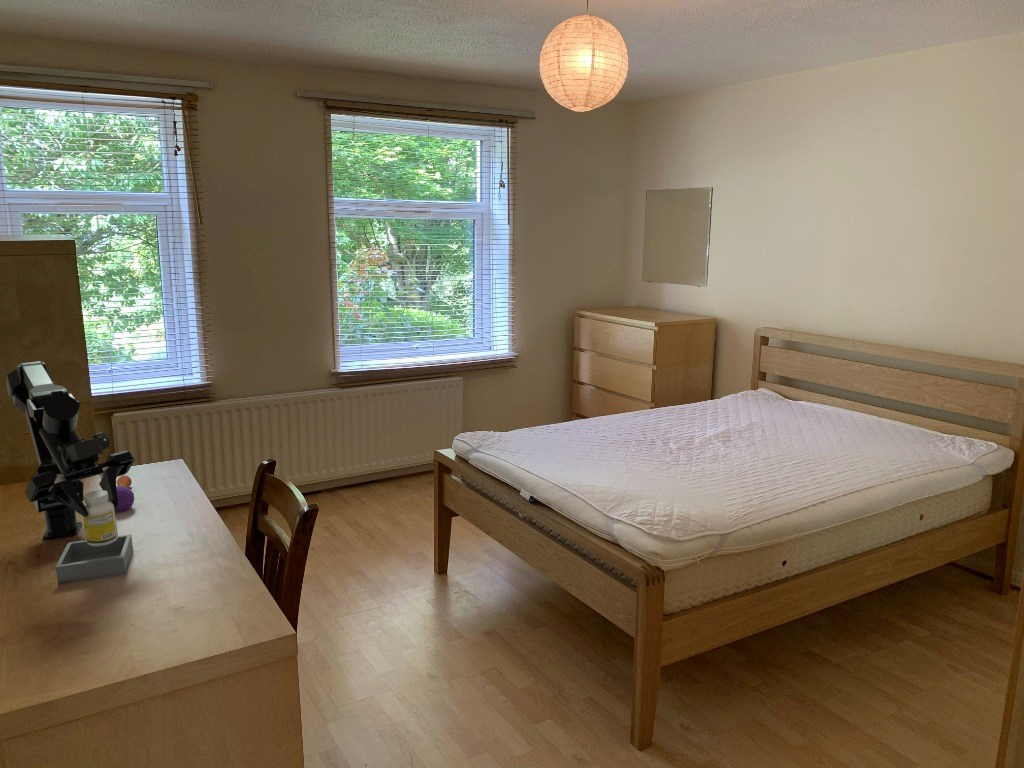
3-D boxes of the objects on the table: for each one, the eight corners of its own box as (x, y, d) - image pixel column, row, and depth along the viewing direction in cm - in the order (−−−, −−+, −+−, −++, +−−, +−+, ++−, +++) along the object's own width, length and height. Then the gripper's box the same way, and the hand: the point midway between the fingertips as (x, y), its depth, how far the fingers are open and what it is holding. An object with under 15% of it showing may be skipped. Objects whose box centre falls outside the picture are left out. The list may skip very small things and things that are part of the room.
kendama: (138, 470, 192) (134, 490, 174) (136, 493, 193) (132, 515, 175) (112, 469, 190) (105, 489, 172) (109, 493, 190) (103, 514, 172)
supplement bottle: (94, 535, 149) (87, 489, 147) (122, 534, 150) (116, 488, 148) (81, 547, 144) (75, 499, 142) (111, 546, 145) (105, 498, 142)
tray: (70, 558, 152) (68, 542, 151) (133, 550, 155) (131, 534, 154) (58, 584, 141) (55, 567, 140) (125, 574, 145) (123, 557, 144)
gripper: (23, 434, 136) (62, 505, 133) (124, 411, 151) (161, 474, 148) (9, 467, 142) (46, 535, 139) (108, 441, 157) (143, 503, 154)
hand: (102, 510), depth 145 cm, fingers closed on supplement bottle, 5 cm apart
